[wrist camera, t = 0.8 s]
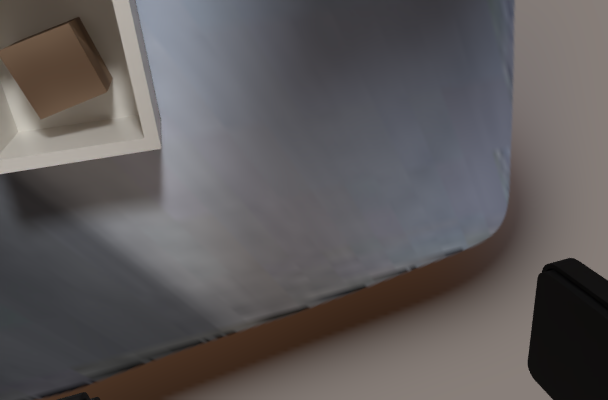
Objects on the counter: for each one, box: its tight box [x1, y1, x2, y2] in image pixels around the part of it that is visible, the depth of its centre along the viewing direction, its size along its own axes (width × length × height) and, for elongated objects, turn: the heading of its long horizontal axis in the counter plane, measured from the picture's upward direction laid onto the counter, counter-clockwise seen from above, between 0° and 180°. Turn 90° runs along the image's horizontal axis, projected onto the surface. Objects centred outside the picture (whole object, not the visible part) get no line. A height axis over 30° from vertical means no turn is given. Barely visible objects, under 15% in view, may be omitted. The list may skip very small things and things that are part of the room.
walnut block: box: [0, 17, 113, 119], centre depth 25 cm, size 4×4×4 cm
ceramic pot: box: [0, 0, 161, 174], centre depth 25 cm, size 8×8×6 cm
